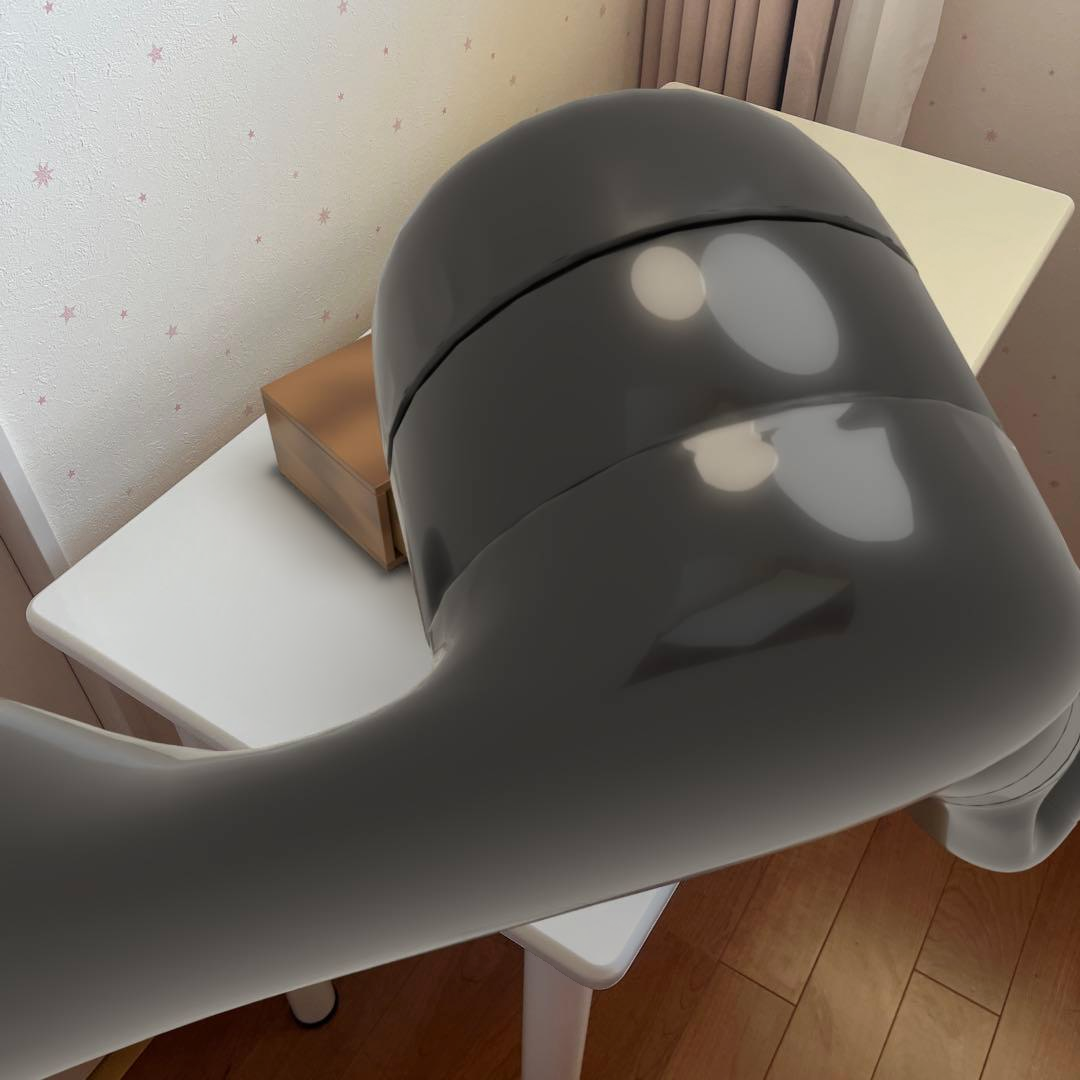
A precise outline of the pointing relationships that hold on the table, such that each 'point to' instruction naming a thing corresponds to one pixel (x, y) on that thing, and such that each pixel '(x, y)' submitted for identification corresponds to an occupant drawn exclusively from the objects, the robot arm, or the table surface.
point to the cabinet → (336, 444)
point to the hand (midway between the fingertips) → (478, 350)
